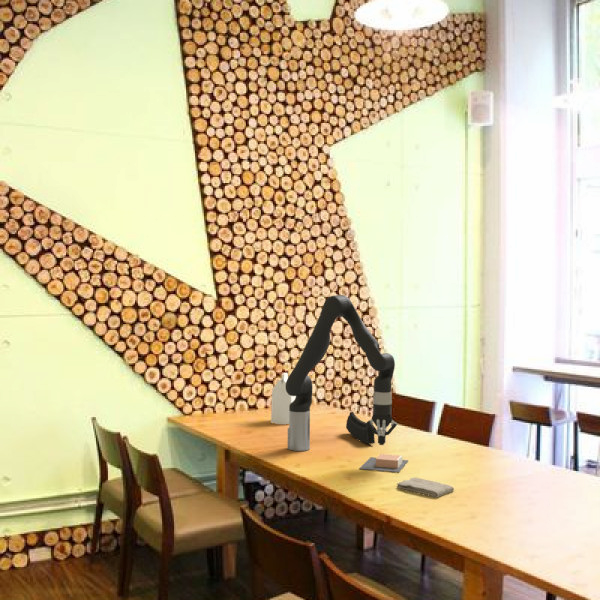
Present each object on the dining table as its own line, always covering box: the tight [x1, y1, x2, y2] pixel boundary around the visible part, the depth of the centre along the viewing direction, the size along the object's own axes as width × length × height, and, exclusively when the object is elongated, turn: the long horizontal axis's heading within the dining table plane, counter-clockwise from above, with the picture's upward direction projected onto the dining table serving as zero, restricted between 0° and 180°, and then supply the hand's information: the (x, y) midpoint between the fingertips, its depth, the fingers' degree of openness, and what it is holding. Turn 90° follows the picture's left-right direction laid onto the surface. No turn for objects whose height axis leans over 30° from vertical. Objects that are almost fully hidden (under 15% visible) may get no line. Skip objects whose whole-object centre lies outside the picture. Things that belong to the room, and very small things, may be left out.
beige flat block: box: [375, 453, 403, 468], centre depth 298 cm, size 3×9×9 cm
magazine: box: [345, 411, 376, 445], centre depth 348 cm, size 17×3×30 cm
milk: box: [270, 372, 296, 425], centre depth 391 cm, size 12×12×26 cm
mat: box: [358, 456, 409, 474], centre depth 299 cm, size 16×20×1 cm
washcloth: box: [396, 477, 455, 498], centre depth 264 cm, size 12×18×3 cm, turn 48°
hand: (381, 444), depth 299 cm, fingers closed
